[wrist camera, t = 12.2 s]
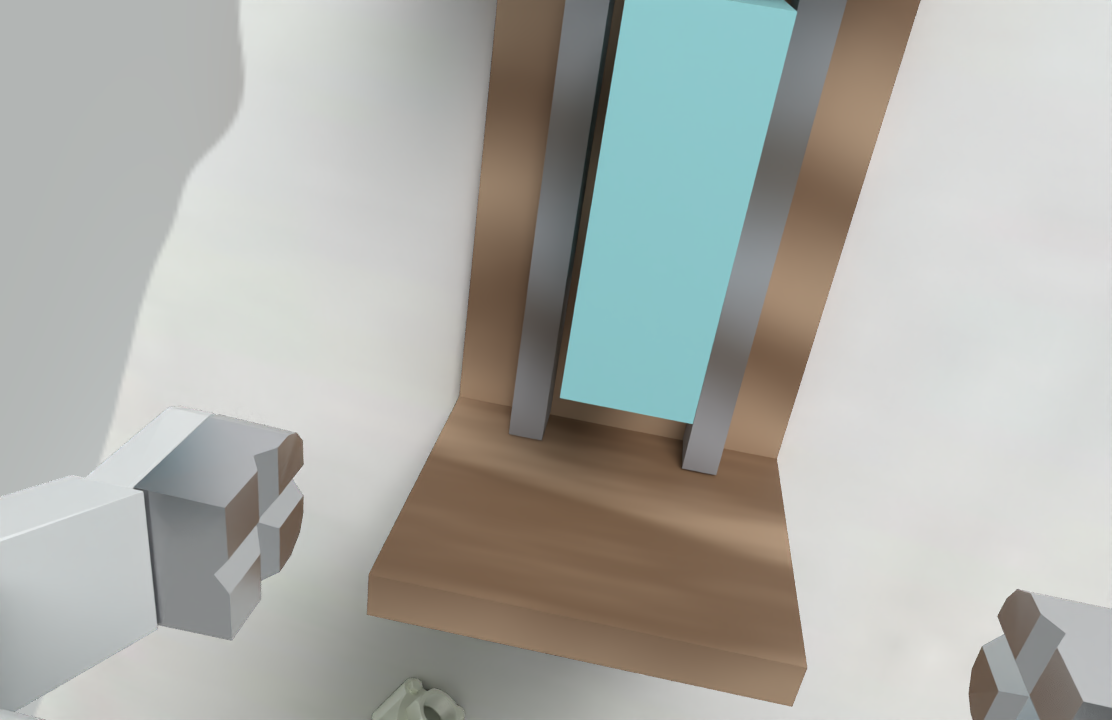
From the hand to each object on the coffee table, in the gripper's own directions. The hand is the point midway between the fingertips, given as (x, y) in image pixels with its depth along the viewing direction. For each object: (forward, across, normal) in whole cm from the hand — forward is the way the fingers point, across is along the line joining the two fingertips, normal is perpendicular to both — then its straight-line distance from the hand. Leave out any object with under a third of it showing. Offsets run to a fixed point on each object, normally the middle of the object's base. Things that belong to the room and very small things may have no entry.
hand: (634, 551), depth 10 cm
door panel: (+19, 0, 0) cm, 19 cm away
